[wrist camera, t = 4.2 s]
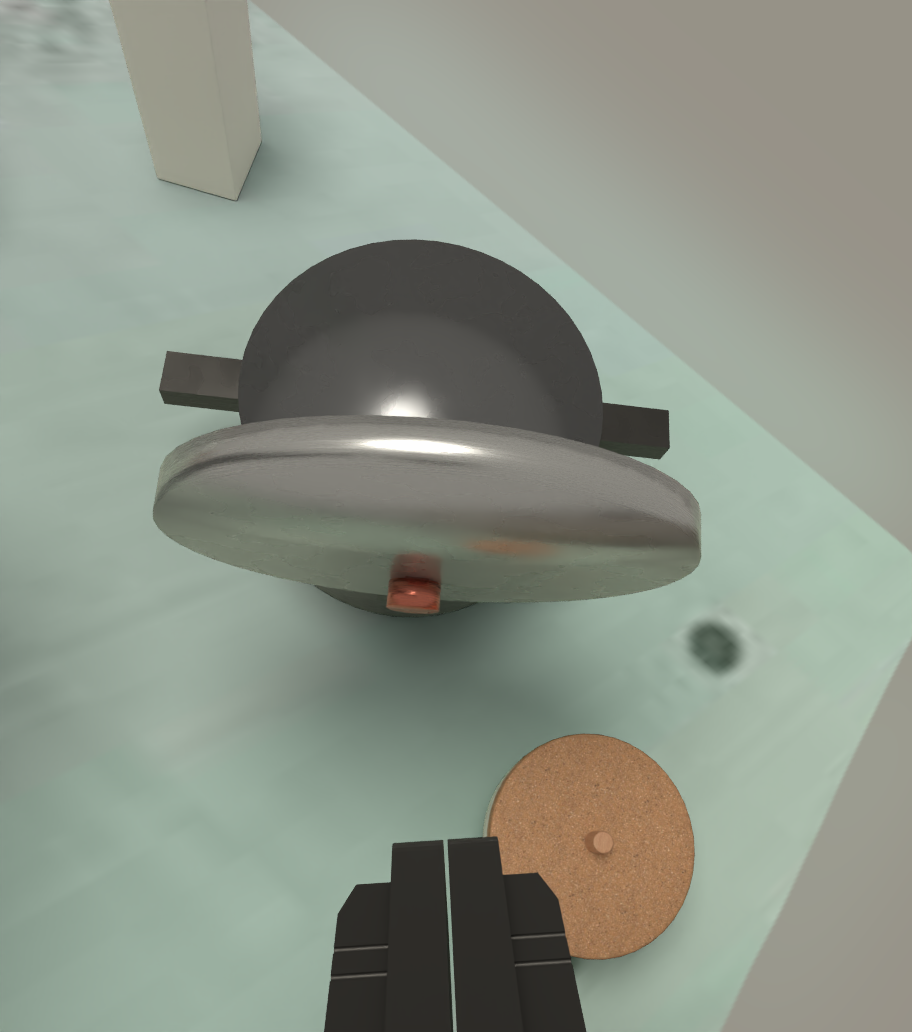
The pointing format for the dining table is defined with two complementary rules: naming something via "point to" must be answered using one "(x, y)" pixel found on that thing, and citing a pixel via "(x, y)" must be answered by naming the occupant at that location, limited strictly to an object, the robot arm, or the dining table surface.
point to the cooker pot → (417, 357)
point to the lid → (428, 510)
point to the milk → (193, 88)
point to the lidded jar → (597, 839)
